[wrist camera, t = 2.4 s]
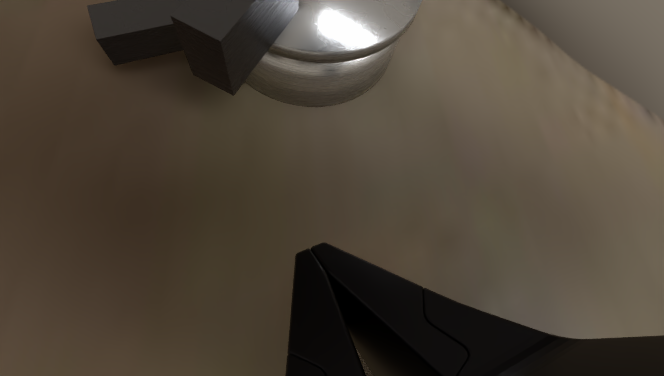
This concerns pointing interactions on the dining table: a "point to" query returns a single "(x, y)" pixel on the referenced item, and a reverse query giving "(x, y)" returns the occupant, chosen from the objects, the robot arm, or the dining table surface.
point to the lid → (284, 33)
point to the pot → (267, 77)
